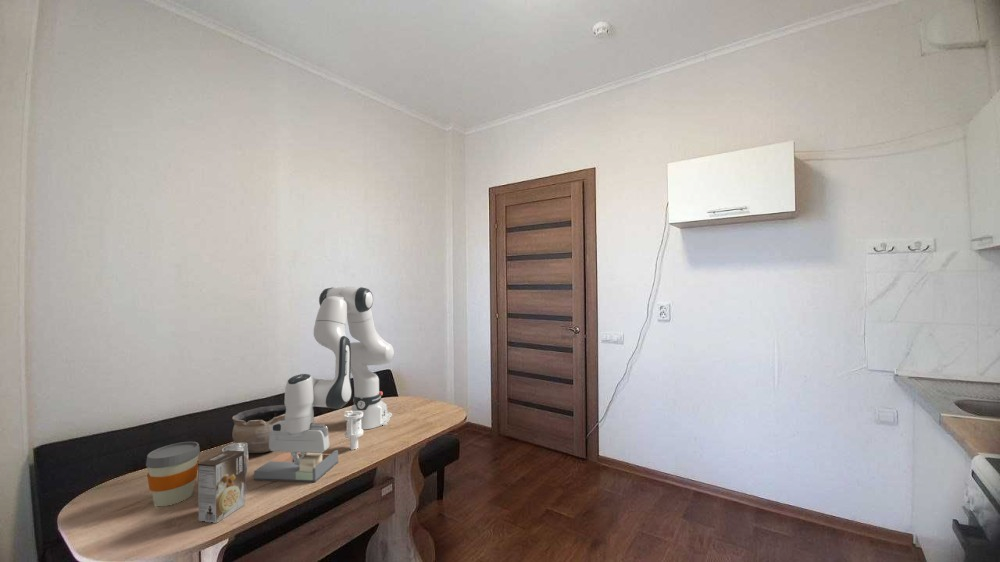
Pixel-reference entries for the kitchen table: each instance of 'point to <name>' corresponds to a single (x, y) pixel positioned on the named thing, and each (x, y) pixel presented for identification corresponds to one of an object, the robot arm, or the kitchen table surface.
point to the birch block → (310, 461)
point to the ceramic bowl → (256, 427)
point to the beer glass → (240, 448)
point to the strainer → (353, 427)
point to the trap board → (294, 469)
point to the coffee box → (221, 485)
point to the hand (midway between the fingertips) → (299, 463)
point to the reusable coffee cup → (172, 472)
